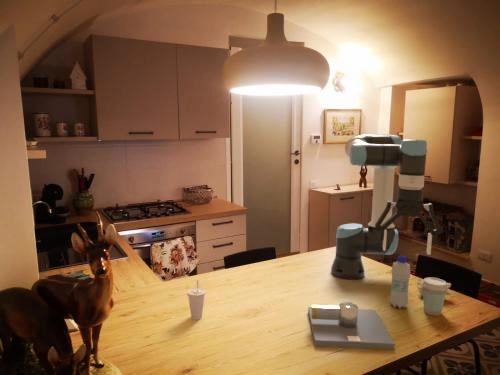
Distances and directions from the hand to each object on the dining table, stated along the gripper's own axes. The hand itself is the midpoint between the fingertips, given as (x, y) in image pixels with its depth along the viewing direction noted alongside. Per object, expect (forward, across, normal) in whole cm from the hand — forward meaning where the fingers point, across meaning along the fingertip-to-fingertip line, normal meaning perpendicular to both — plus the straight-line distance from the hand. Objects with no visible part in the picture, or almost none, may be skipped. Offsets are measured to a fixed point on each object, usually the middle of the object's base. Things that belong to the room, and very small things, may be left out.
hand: (405, 251), depth 123 cm
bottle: (+27, +1, +17) cm, 32 cm away
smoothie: (+27, -69, -14) cm, 75 cm away
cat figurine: (+27, +15, +30) cm, 43 cm away
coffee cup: (+27, +13, +15) cm, 33 cm away
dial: (+24, -22, -8) cm, 34 cm away
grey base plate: (+27, -17, -7) cm, 33 cm away
